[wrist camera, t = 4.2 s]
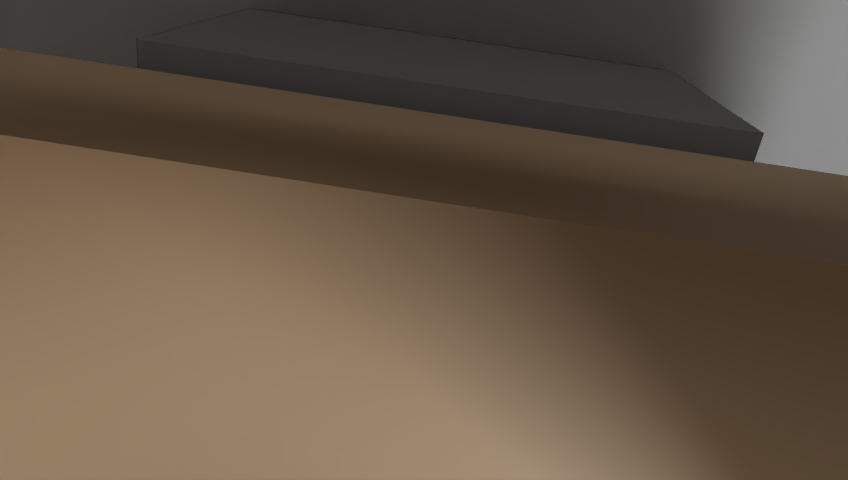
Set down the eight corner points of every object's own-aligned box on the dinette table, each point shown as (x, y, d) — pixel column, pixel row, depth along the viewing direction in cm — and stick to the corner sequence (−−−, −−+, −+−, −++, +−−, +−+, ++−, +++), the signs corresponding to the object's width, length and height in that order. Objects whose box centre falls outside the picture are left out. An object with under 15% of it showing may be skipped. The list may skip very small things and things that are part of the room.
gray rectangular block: (249, 8, 11) (136, 39, 7) (669, 70, 11) (763, 133, 7) (236, 533, 16) (163, 707, 12) (526, 580, 16) (541, 770, 12)
